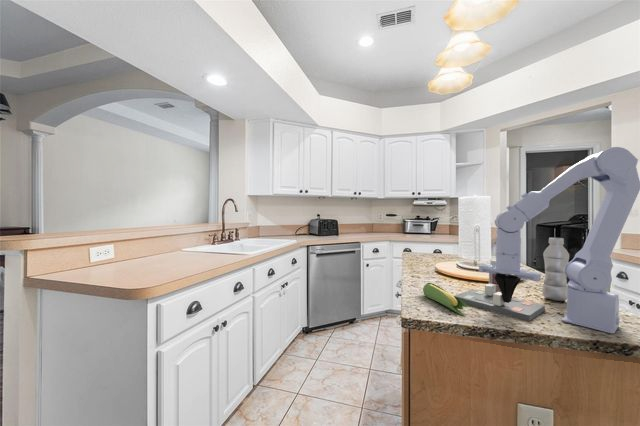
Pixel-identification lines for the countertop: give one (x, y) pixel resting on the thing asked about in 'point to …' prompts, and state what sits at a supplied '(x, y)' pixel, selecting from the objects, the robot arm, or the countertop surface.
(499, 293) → the block
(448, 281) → the countertop surface
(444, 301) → the edible corn
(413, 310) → the countertop surface
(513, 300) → the breaker panel
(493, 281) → the pill bottle
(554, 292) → the plastic bottle
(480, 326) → the countertop surface
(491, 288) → the block
